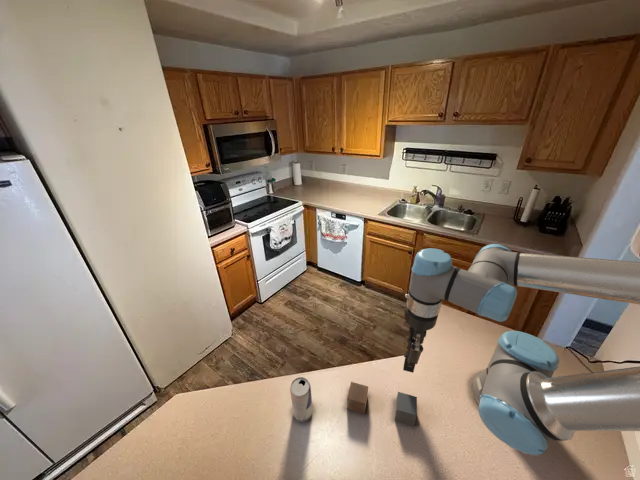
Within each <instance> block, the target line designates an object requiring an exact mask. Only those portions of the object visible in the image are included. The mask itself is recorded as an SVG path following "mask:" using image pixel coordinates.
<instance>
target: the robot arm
mask: <svg viewBox="0 0 640 480" xmlns="http://www.w3.org/2000/svg"><path fill="white" fill-rule="evenodd" d="M516 287H521V288H528V289H534V290H535V289H536V290H541V291H548V292H555V293H562V294H568V295H574V296H581V297H587V298H593V299H601V300H606V301H613V302H621V303H626V304H627V303H628V304H633V305H639V306H640V261H633V260H620V259H606V258H592V257H581V256H567V255H556V254H543V253H542V254H541V253H531V252H530V253H528V252H518V251H517V252H516V251H512V250H511V249H510V248H509V247H507V246H505V245H503V244H499V243H490V244H487V245H485V246H483V247H482V248H481V249H480V250H479V251H478V252H477V254H476V255H475V256H474V259H473V261H472V263H471V265H470V267H468V269H467V270H466V269H462V268H460V267H457V266H454V265H453V258H452V256H451V255H450V254H449V253H448V252H445V251H444V250H442V249H438V248H432V247H429V248H423V249H421V250H419V251H418V252H417V253H416V255H415V257H414V260H413V265H412V267H411V274H410V281H409V287H408V293H405V294H404V298H405V299H406V304H405V307H404V313H403V317H404V321H405V323H407V324H408V325H409V328H408V338H407V346H406V352H404V353H403V358H404V362H403V367H402V368H403V370H402V371H405V372H409V373H412V374H413V373H414V372H415V367H416V365H418V363H419V360H420V357H421V354H422V353H423V352H424V346H423V344H424V340H425V338H426V336H427V331H430V330H432V329H433V328H435V327H436V325H437V320H438V317H439V314H440V311H441V308H442V307H441V306H442V303H443V300H444V301H446V302H447V303H448V302H449V303H451V304H453V305H456V306H458V307H460V308H462V309H465V310H468V311H470V312H472V313H475V314H476V315H478V316H480V317H485V318H488V319H490V320H493V321H496V322H499V323H503V322H505V321H507V320H508V318H509V317H510V314H511V312H512V310H513V307H514V305H515V302H516V299H517V295H518V290H517V288H516ZM559 364H560V358H559V355H558V353H557V352H556V351H555V350H554V348H553V347H552V346H551V345H549V344H548V343H547V342H545V341H544V340H542V339H541V338H539V337H537V336H535V335H534V334H533V335H532V334H530V333H527V332H523V331H520V330H507V331H505V332H503V333H502V334H501V336H500V337H499V338H498V339H497V344H496V346H495V348H494V351H493V353H492V355H491V358H490V360H489V363H488V365H487V367H486V368H484V369H482V370H481V371H479V372H478V373H477V374H476V375H475V376H474V378H473V379H472V381H471V387H470V388H471V394H472V397H473V399H474V401H475V403H476V404H477V405H478V410H477V411H478V414H479V417H480V420H481V422H482V423H483V425H484V426H485V427H486V428H487V430H488V431H489V432H490V433H491V434H492V435H494V436H495V437H496V438H497V439H498V440H499V441H501V442H502V443H504V444H506V445H507V446H508V447H510V448H512V449H514V450H516V451H518V452H521V453H522V454H526V455H530V456H541V455H544V454H545V452H546V450H547V449H548V447H549V445H548V442H549V441H559V442H560V441H565V442H566V441H571V440H572V439H573V438H574V436H575V433H576V431H577V432H640V365H639V366H632V367H631V366H630V367H624V368H616V369H608V370H601V371H594V372H585V373H578V374H570V375H569V374H568V375H563V376H553V375H554V373H555V371H557V370H558V368H559Z"/></svg>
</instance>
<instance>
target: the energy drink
mask: <svg viewBox="0 0 640 480" xmlns="http://www.w3.org/2000/svg"><path fill="white" fill-rule="evenodd" d="M289 392H290V398H291V405H292V412H293V416H294V418H295V419H296V421H298V422H301V423H303V422H307V421H308V420H310V419H311V417H312V415H313V412H314V411H313V402H312V401H313V399H312V387H311V383H310V381H309V380H308V378H306V377H303V376H298V377H296V378H294V379H293V380H292V381H291V383H290V387H289Z"/></svg>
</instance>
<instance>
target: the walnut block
mask: <svg viewBox="0 0 640 480" xmlns="http://www.w3.org/2000/svg"><path fill="white" fill-rule="evenodd" d="M368 393H369V386H367V385H365V384H362V383H361V384H360V383H358V382H354V381H350V384H349V389H348V393H347V397H346V409H348V410H350V411H354V412H356V413H360V414H362V415H366V414H365V413H366V407H367V401H368Z"/></svg>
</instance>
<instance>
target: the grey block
mask: <svg viewBox="0 0 640 480" xmlns="http://www.w3.org/2000/svg"><path fill="white" fill-rule="evenodd" d="M417 416H418V397H417V396H415V395H411V394H408V393H404V392H401V391H397V394H396V400H395V410H394V421H397V422H400V423H404V424H406V425H410V426H412V427H414V426H415V425H416V422H417V421H416V420H417Z"/></svg>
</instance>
